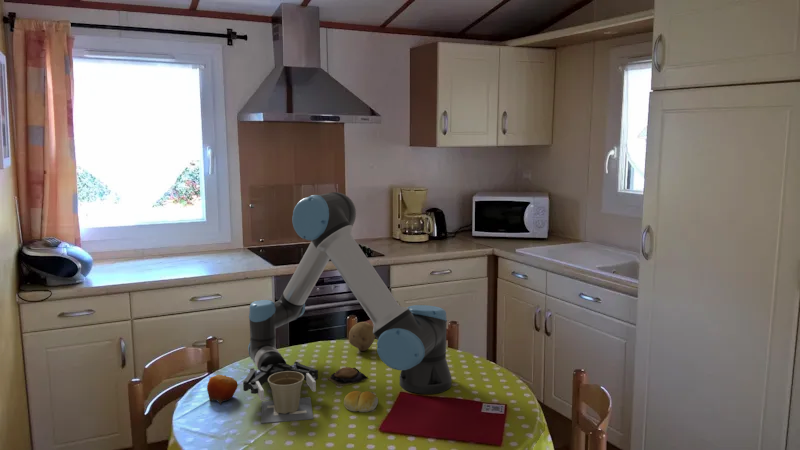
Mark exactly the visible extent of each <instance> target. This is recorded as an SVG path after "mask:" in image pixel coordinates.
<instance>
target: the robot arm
mask: <svg viewBox="0 0 800 450" xmlns="http://www.w3.org/2000/svg"><path fill="white" fill-rule="evenodd" d="M356 217H357V210H356V206H355V203H354V202H353V200H352V199H351V198H350V197H349V196H347V195H346V194H344V193H342V192H338V191H337V192H336V191H335V192H333V191H332V192H328V193H322V194H312V195H309V196H307V197H304V198H302V199H300V200H299V201H298V202H297V204H296V205H295V206H294V208H293V211H292V218H291V219H292V226H293V229H294V231H295V232H296V234H297V236H298V237H299V238H301V239H303V240H307V241H310V243H309V245H308V247H307V249H306V251H305V253H304V254H303V256H302V258H301V259H300V262H299V263H298V265H297V267H296V269H295V270H294V272H293V274H292V276H291V278H290V280H288V281H289V282H288V283H287V285H286V287H285V289H284V290H283V292H282V294H281V296H280V298H279V299H278V300H277V301H275V302H274V301H273V300H269V299H260V300H255V301H252V302H251V303H250V305H249V316H248V320H249V337H250V338H249V344H248V346H247V351H248V355H249V358H250V359H251V360H252V362H253V363H254V365H255V366H256V368H257V369H255V368H254V367H252V368H249V373H248V375H247V376H246V377H245V378H244V380H243V381H242V383H243V385H242V386H243V389H242V390H243V392H247V391H249V390H250V393H251V394H255V395H257V396H258V398H259V399H260V401H261V402H262V401H265V390H264V388H263V385H264V384H265V383H269V382H268V378H269V376H271V375H272V374H274V373H278V372H283V371H295V372H299V373H302V374H303V375H304V380H303V381H305V383H306V384H307V386H308V387H309V389H310V390H311V391H312V393H314V392H317V386H316V385H317V384H316V383H317V381H316V380H318V379H319V369H316V368H314V367H310V366H307V365H304V364H302V363H300V362H299V361H294V363H293V365H292V364H291V365H290V364H288V363H287V362H286V360H285V358H284V357H283V356H282V355H281V353H280V352H279V350H278V349H277V346H276V342H277V341H276V338H277V337H276V329H277V328H280V327H282V326H283V325H286V324H288V323H290V322H293V321H296V320H297V319H299V318H300V317H302V316H303V315H304V313H305V311H306V304H305V303H306V301H307V299H308V298H309V296H310V295H311V293H312V290H314V287H315V285H316V284H317V282H318V280H319V279H320V277H321V275H322V273H323V272H324V270H325V268H326V267H327V265H328V263H329V262H330V261H331V263H332V264H333V265H334V267H335V269H336V270H337V272H338V273H339V274H340V276H341V277H342V279H343V280H344V282H345V283H346V285H347V287H348V288H349V289H350V290H351V293H352V294H353V296H354V297H355V299H357V302H359V304H360V306H361V307H362V309H363V310H364V312H365V313H366V314H367V316H368V317H369V319H370V321H371V322H372V323H373V334H374V335H375V339H376V340H377V342H376V346H377V347H376V352H377V355H378V357H379V359H380V360H381V361H382V362H383V364H385V366H388V367H389V368H390V369H392V370H397V371H400V374H399V386H400V387H401V388H402V389H403V390H405V391H408V392H410V393H415V394H421V395H431V394H438V393H442V392H446V391H447V390H449V389H450V388H451V387H452V374H451V371H450V368H449V365H448V361H447V322H448V319H447V312H446V310H445V309H444V308H442V307H439V306H434V305H428V304H427V305H425V304H423V305H422V304H414V305H409V306H406V307H405V306H401V305H400V304H399V303H398V301H397V300H396V298H395V296H394V295H393V294H392V292H391V290H390V289H389V288H388V286H387V285H386V284H385V282H384V280H383V279H382V278H381V276H380V275H379V273H378V272H377V271H376V269H375V267H374V266H373V265H372V263H371V261H370V260H369V258H368V257H367V255H365V252H364V251H363V250H362V248H361V246H360V245H359V244H358V242H357V241H356V240H355V238H354V236H353V235H352V231H353V226H354V224H355V221H356Z"/></svg>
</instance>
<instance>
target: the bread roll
mask: <svg viewBox="0 0 800 450" xmlns="http://www.w3.org/2000/svg"><path fill="white" fill-rule="evenodd" d="M378 403H379V398H378V397H377V396H376V394H375V393H373V392H372V391H368V390H367V391H363V392H362V391H359V390H352V391H350V392H349V393H347V394H346V395H345V397H344V399H343V405H344V407H345V408H346V409H347V410H348V411H350V412H355V413H356V412H359V413H368V412H369V413H370V412H372V411H374V410H375V409H376V408H377V405H378Z"/></svg>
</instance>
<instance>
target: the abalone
mask: <svg viewBox="0 0 800 450" xmlns="http://www.w3.org/2000/svg"><path fill="white" fill-rule="evenodd" d="M368 379H369V378H368V375H367V376H366V374H365V373H364V372H363V373H362V372H361V371H359V370H358V368H356V367H348V366H345V367H342V368H340V369H338V370H336V372H333V373H332V374H331V375H330V376H328V377H327V380H329V381H330V382H332V383H333V384H334V385H336V386H338V387H344V386H347V385H351V384H356V383H359V382H362V381H365V380H368Z"/></svg>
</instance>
